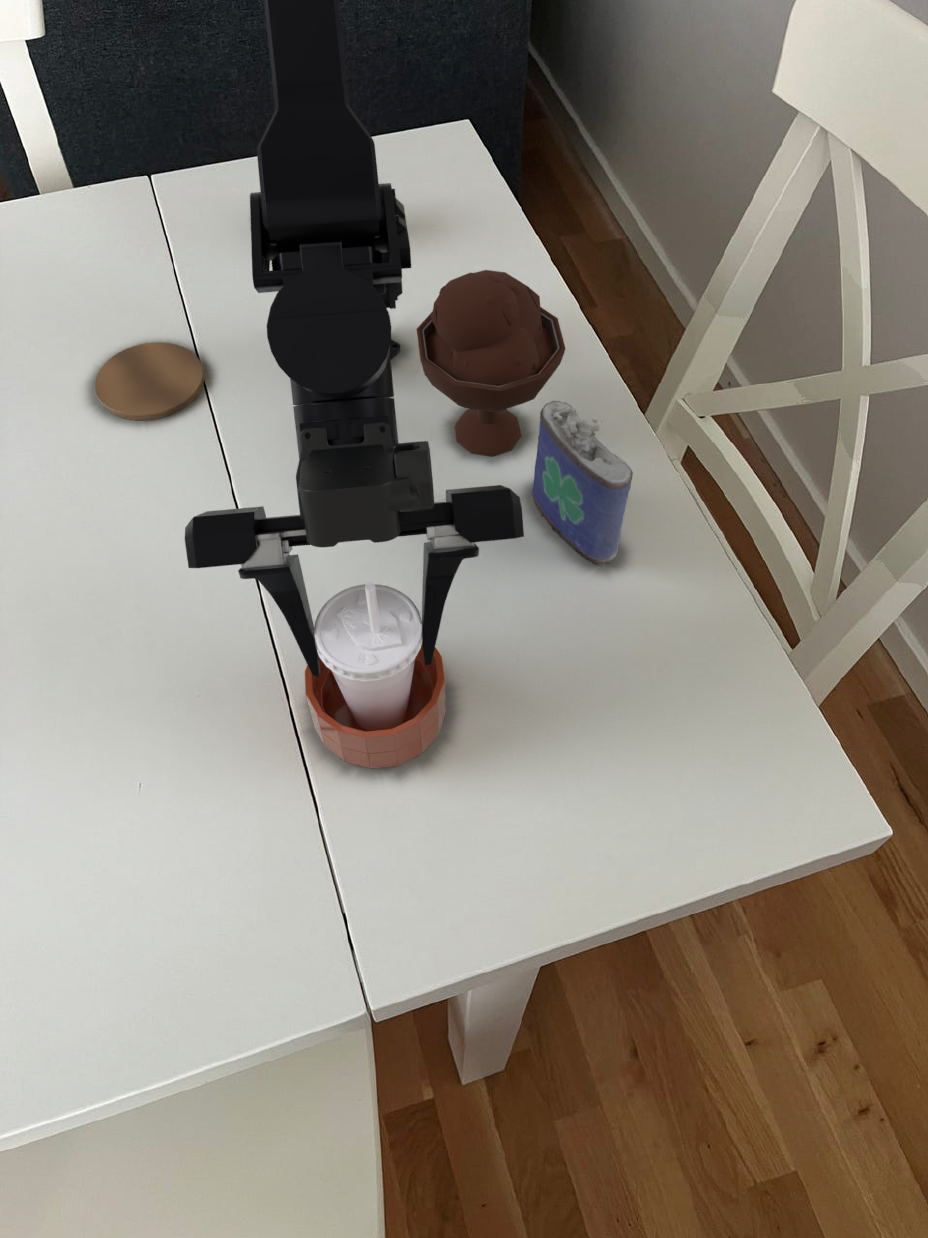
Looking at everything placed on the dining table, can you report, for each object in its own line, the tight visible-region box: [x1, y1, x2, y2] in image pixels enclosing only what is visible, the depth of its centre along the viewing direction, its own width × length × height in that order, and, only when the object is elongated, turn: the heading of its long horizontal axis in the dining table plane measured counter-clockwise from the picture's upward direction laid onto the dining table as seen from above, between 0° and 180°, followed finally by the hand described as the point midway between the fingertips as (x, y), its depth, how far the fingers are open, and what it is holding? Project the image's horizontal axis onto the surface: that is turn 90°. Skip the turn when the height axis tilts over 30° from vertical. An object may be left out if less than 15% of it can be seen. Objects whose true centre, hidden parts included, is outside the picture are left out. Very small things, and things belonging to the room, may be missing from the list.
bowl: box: [304, 645, 447, 769], centre depth 64 cm, size 9×9×4 cm
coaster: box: [94, 341, 205, 421], centre depth 83 cm, size 9×9×1 cm
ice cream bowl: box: [416, 269, 566, 457], centre depth 74 cm, size 11×11×15 cm
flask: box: [531, 400, 634, 567], centre depth 70 cm, size 9×3×11 cm, turn 32°
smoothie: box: [314, 581, 423, 731], centre depth 60 cm, size 6×6×14 cm
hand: (371, 669), depth 59 cm, fingers closed on smoothie, 6 cm apart
